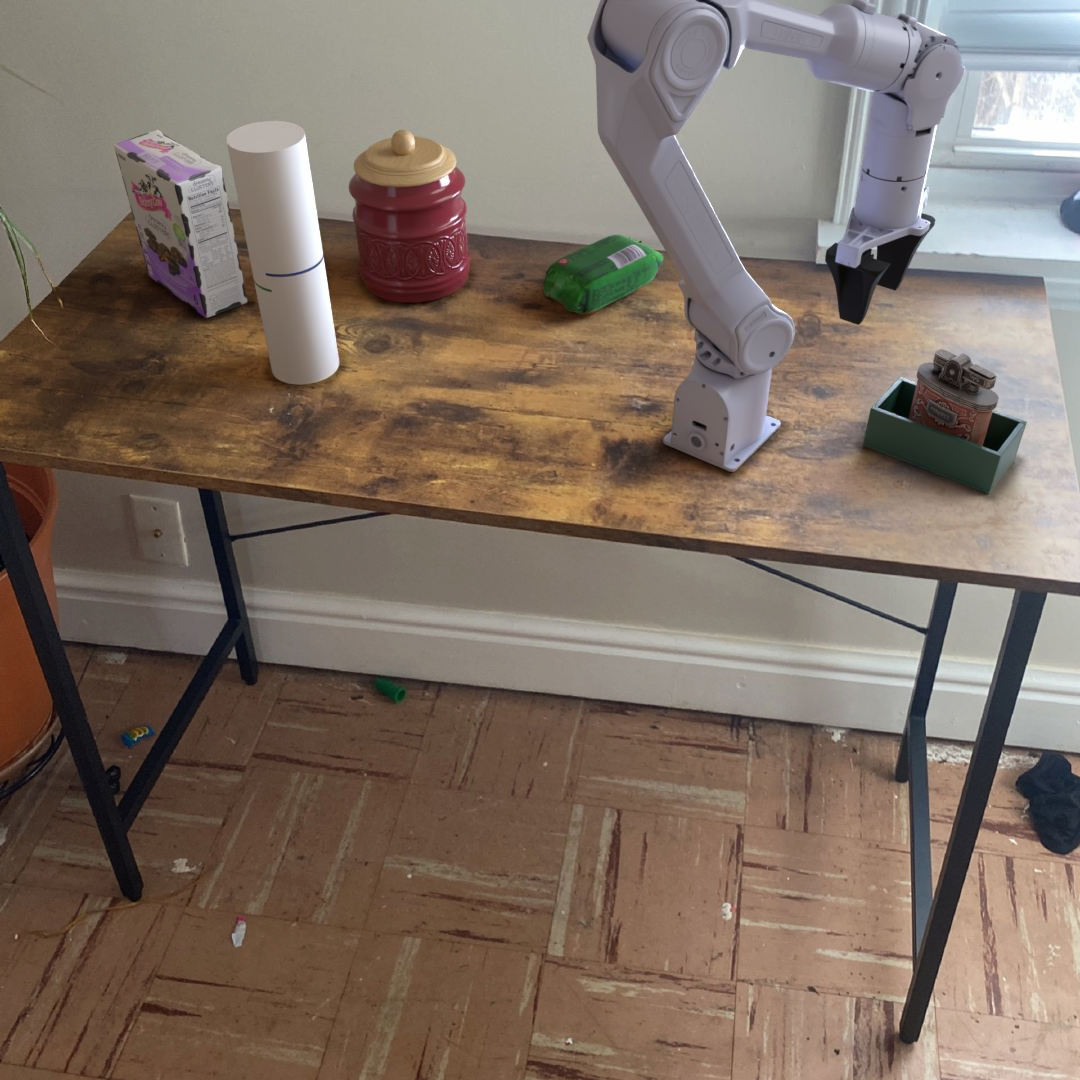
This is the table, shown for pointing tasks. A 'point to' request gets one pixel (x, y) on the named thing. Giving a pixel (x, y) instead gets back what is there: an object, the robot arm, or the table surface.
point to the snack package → (601, 273)
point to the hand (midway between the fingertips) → (869, 303)
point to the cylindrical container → (285, 249)
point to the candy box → (182, 222)
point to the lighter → (954, 396)
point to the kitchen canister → (410, 219)
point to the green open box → (942, 441)
